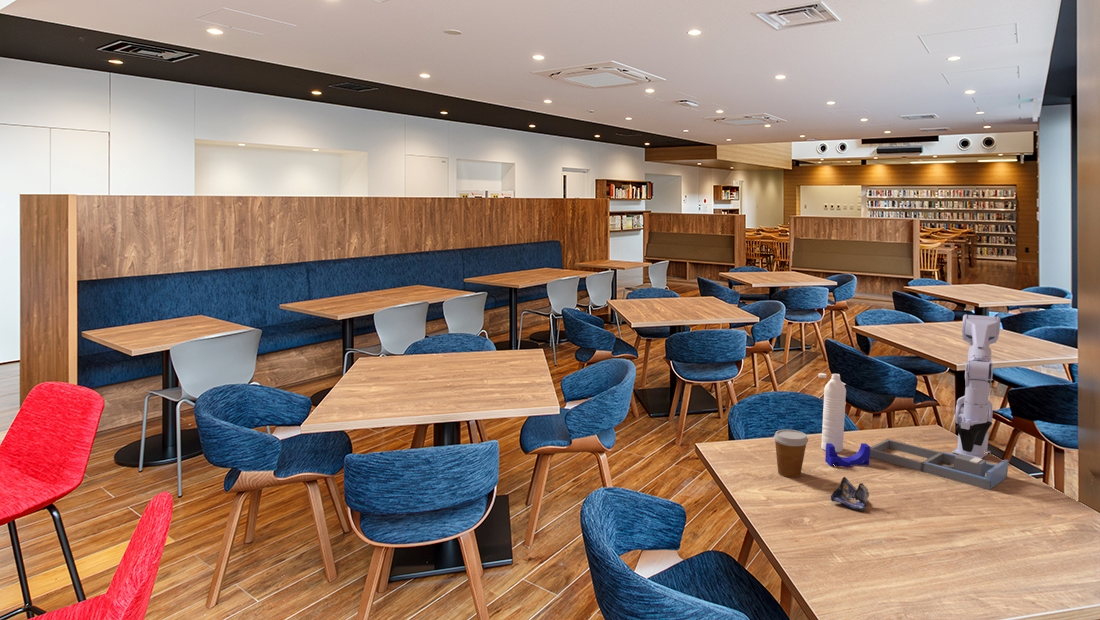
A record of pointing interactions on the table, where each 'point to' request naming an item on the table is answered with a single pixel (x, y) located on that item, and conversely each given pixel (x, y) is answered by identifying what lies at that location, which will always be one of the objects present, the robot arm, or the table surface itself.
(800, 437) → the disposable coffee cup
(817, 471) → the table surface
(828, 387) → the water bottle
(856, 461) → the blue pipe cradle
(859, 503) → the snack package
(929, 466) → the grey divided rectangular frame
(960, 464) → the cord plug
